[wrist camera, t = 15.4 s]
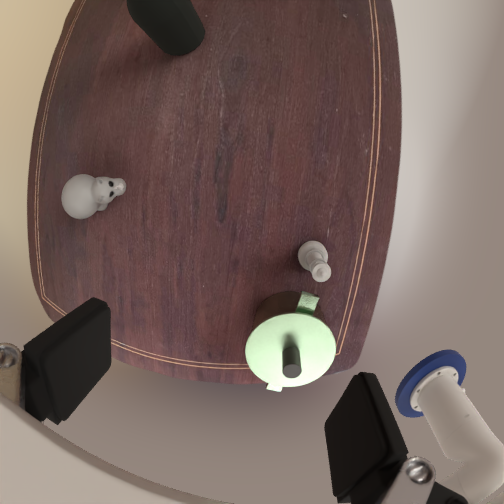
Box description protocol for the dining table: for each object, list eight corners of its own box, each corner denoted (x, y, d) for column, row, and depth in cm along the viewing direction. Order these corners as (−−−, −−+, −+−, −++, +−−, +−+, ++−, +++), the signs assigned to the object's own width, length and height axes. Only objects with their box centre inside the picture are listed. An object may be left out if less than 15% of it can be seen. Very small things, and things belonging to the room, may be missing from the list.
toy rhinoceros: (139, 208, 41) (111, 214, 33) (86, 217, 42) (55, 224, 34) (135, 165, 40) (107, 162, 31) (82, 178, 41) (51, 179, 33)
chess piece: (326, 240, 40) (341, 256, 30) (326, 268, 41) (340, 292, 31) (297, 240, 40) (304, 257, 30) (297, 269, 41) (303, 293, 31)
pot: (338, 285, 41) (351, 307, 33) (304, 368, 45) (308, 399, 37) (269, 267, 42) (267, 286, 33) (243, 354, 46) (236, 385, 37)
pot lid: (348, 321, 34) (357, 340, 29) (316, 388, 37) (319, 410, 32) (258, 299, 34) (256, 317, 29) (237, 371, 37) (232, 394, 32)
